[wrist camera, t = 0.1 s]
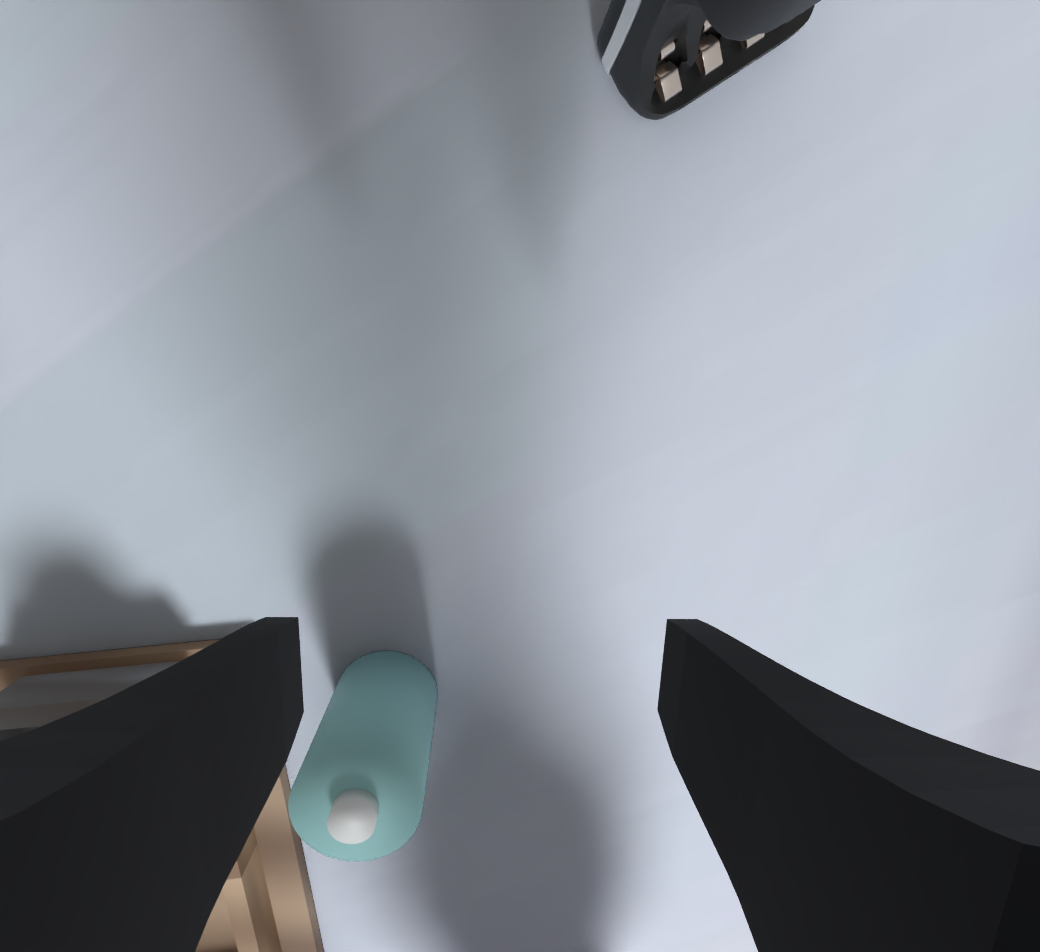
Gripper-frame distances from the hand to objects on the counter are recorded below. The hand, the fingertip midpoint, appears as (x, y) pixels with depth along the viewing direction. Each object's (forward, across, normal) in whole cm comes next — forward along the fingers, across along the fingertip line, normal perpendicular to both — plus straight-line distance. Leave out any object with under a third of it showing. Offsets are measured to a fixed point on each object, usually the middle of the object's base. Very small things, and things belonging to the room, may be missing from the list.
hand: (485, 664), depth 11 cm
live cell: (+10, +4, +8) cm, 13 cm away
